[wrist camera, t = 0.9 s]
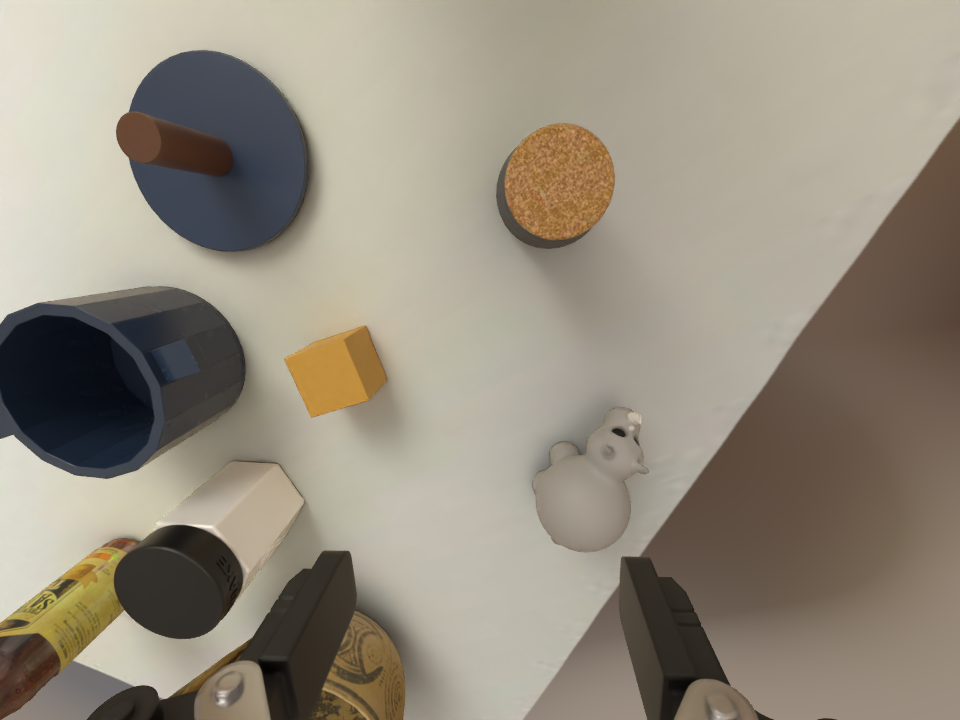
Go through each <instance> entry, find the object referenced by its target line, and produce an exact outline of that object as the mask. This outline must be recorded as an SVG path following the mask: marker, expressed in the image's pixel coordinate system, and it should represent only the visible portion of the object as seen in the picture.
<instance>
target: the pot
mask: <svg viewBox="0 0 960 720" xmlns="http://www.w3.org/2000/svg"><path fill="white" fill-rule="evenodd" d="M244 379H245V361H244V354H243V351H242V347H241V345H240V342H239V340H238V337H237V336H236V334H235V332H234V330H233V328H232V327H231V326H230V324H229V323H228V321H227V320H226V319H225V318H224V317H223V316H222V314H221V313H220V312H219V311H218V310H216V309H215V308H214V307H213V306H212V305H211V304H209V303H208V302H206V301H205V300H204V299H202V298H200V297H198V296H196V295H194V294H192V293H190V292H187V291H185V290H181V289H177V288H172V287H149V286H148V287H141V288H135V289H128V290H121V291H115V292H108V293H102V294H95V295H88V296H82V297H75V298H68V299H62V300H55V301H48V302H42V303H37V304H34V305H32V306H29V307H26V308H24V309H21V310H19V311H16V312H14V313H11V314H9V315H7V316H6V318H5V319H4V320H3V321H2V323H1V324H0V439H2V438H5V437H8V436H11V435H15V437H16V438H17V439H18V440H19V441H20V442H22V443H23V444H24V445H25V446H26V447H27V448H29V449H30V450H31V451H32V452H33V453H34V454H36V455H37V456H38V457H39V458H40V459H41V460H43V461H45V462H47V463H49V464H51V465H54V466H56V467H58V468H60V469H63V470H65V471H67V472H69V473H71V474H74V475H77V476H86V477H96V478H105V479H108V478H113V477H116V476H119V475H123V474H126V473H129V472H133V471H136V470H138V469H140V468H141V467H143V466H144V465H146V464H148V463H149V462H151V461H152V460H154V459H155V458H157V457H159V456H160V455H162V454H163V453H165V452H167V451H168V450H170V449H171V448H173V447H174V446H176V445H178V444H179V443H181V442H182V441H184V440H186V439H187V438H189V437H190V436H192V435H193V434H195V433H197V432H198V431H200V430H201V429H203V428H205V427H206V426H208V425H209V424H211V423H212V422H214V421H216V420H217V419H218V418H220V417H221V416H222V415H223V414H224V413H225V412H227V411H228V410H229V409H230V408H231V407H232V406H233V405H234V404H235V402H236V400H237V399H238V397H239V395H240V393H241V391H242V388H243V384H244Z"/></svg>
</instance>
